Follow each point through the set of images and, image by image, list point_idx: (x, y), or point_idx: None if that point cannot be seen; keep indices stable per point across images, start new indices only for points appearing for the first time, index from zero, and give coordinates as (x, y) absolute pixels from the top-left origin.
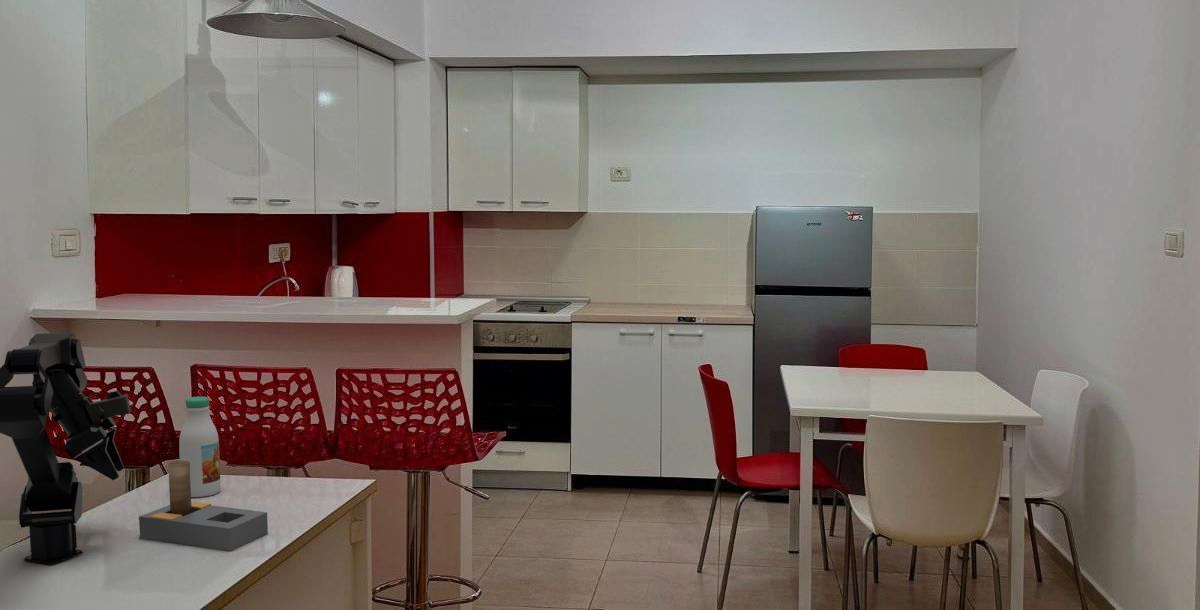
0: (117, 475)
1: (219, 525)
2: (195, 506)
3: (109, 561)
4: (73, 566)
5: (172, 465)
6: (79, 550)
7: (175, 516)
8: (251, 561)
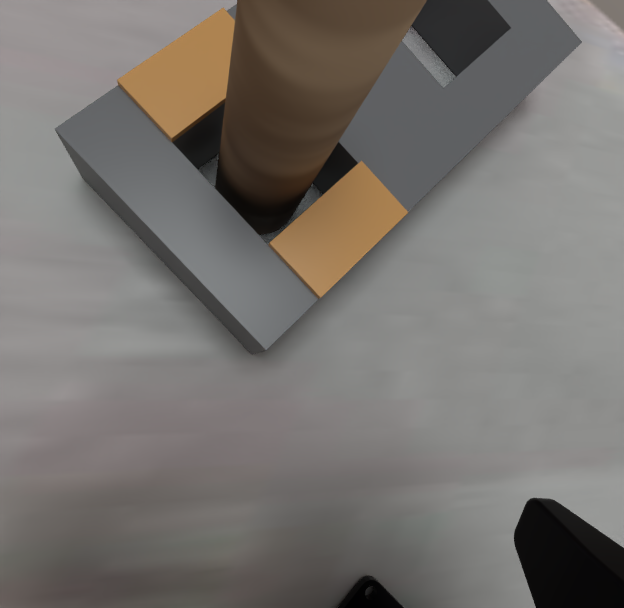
0: (564, 512)
1: (534, 62)
2: None
3: (486, 462)
4: (494, 588)
5: (414, 4)
6: (364, 592)
7: (372, 190)
8: (621, 66)
